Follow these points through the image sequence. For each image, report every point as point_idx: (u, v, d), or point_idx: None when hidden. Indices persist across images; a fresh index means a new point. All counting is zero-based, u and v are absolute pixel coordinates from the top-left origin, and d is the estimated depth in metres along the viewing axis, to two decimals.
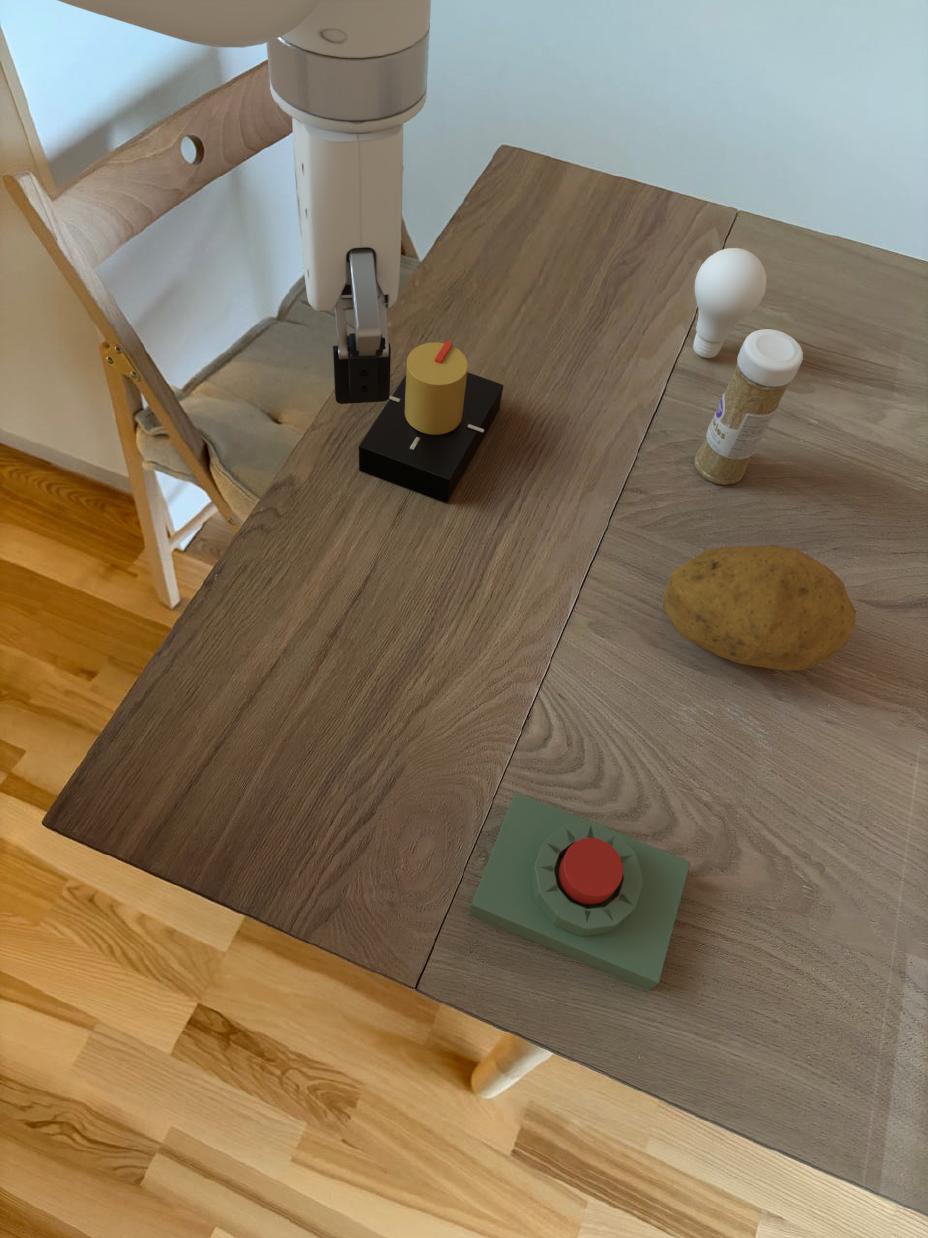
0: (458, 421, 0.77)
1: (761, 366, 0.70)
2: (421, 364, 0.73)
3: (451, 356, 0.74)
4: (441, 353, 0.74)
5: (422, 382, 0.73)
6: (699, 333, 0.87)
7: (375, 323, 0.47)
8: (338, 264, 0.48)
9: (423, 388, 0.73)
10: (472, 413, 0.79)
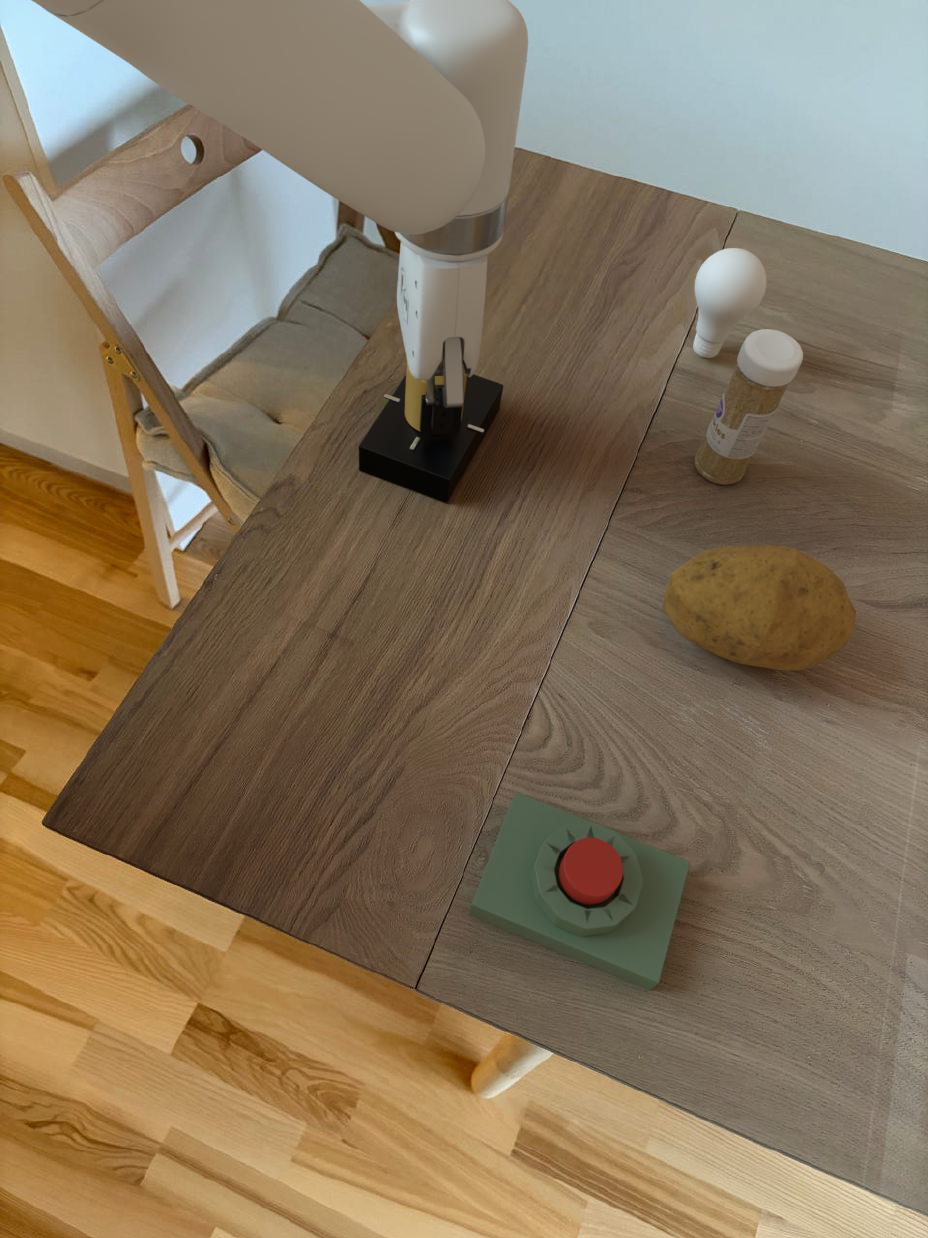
0: None
1: (761, 366, 0.70)
2: None
3: None
4: None
5: (422, 382, 0.73)
6: (699, 333, 0.87)
7: (459, 399, 0.67)
8: (437, 348, 0.66)
9: (423, 388, 0.73)
10: (472, 413, 0.79)
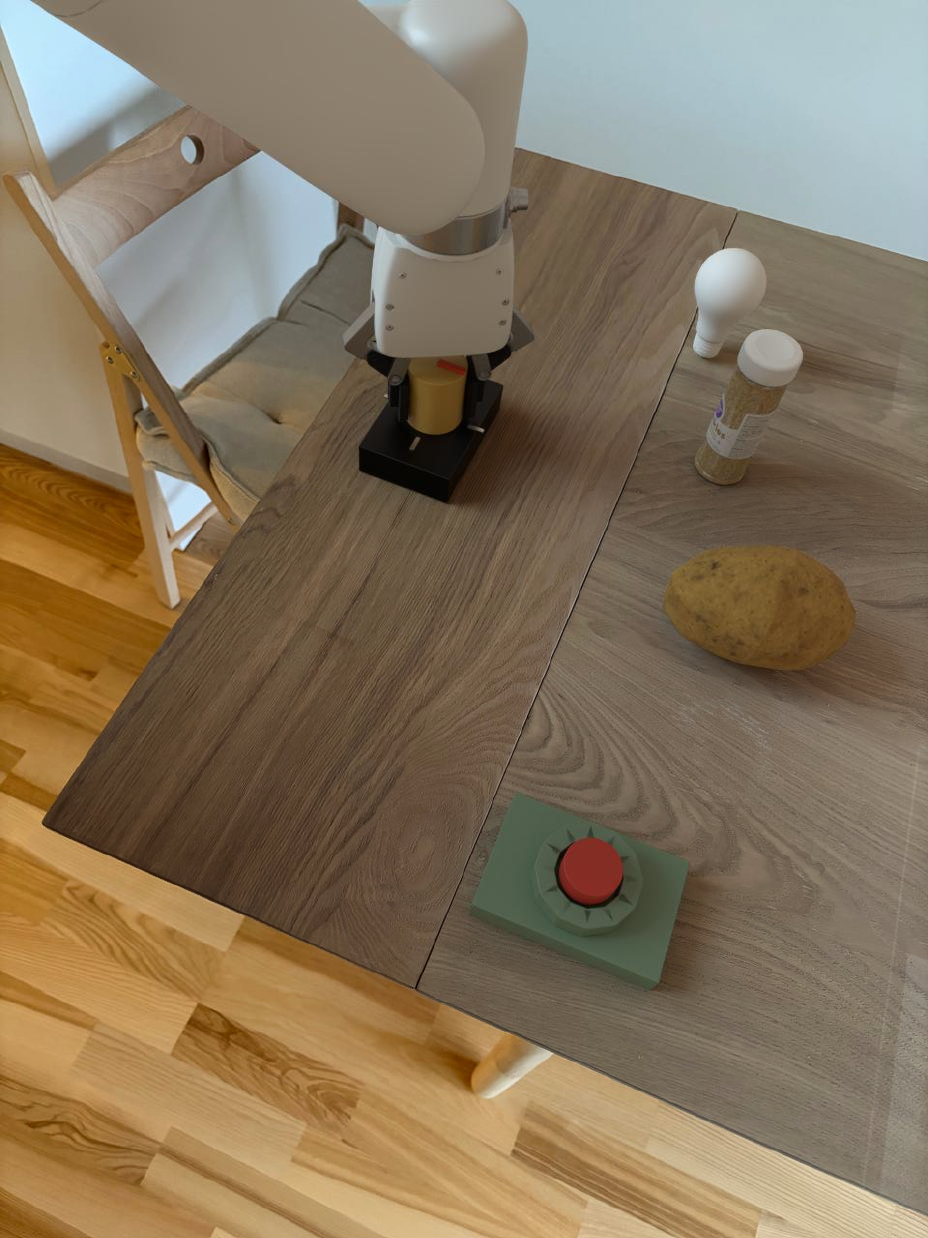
0: (417, 426, 0.77)
1: (761, 366, 0.70)
2: None
3: (447, 373, 0.73)
4: (447, 363, 0.73)
5: None
6: (699, 333, 0.87)
7: (346, 340, 0.70)
8: (371, 293, 0.68)
9: None
10: None
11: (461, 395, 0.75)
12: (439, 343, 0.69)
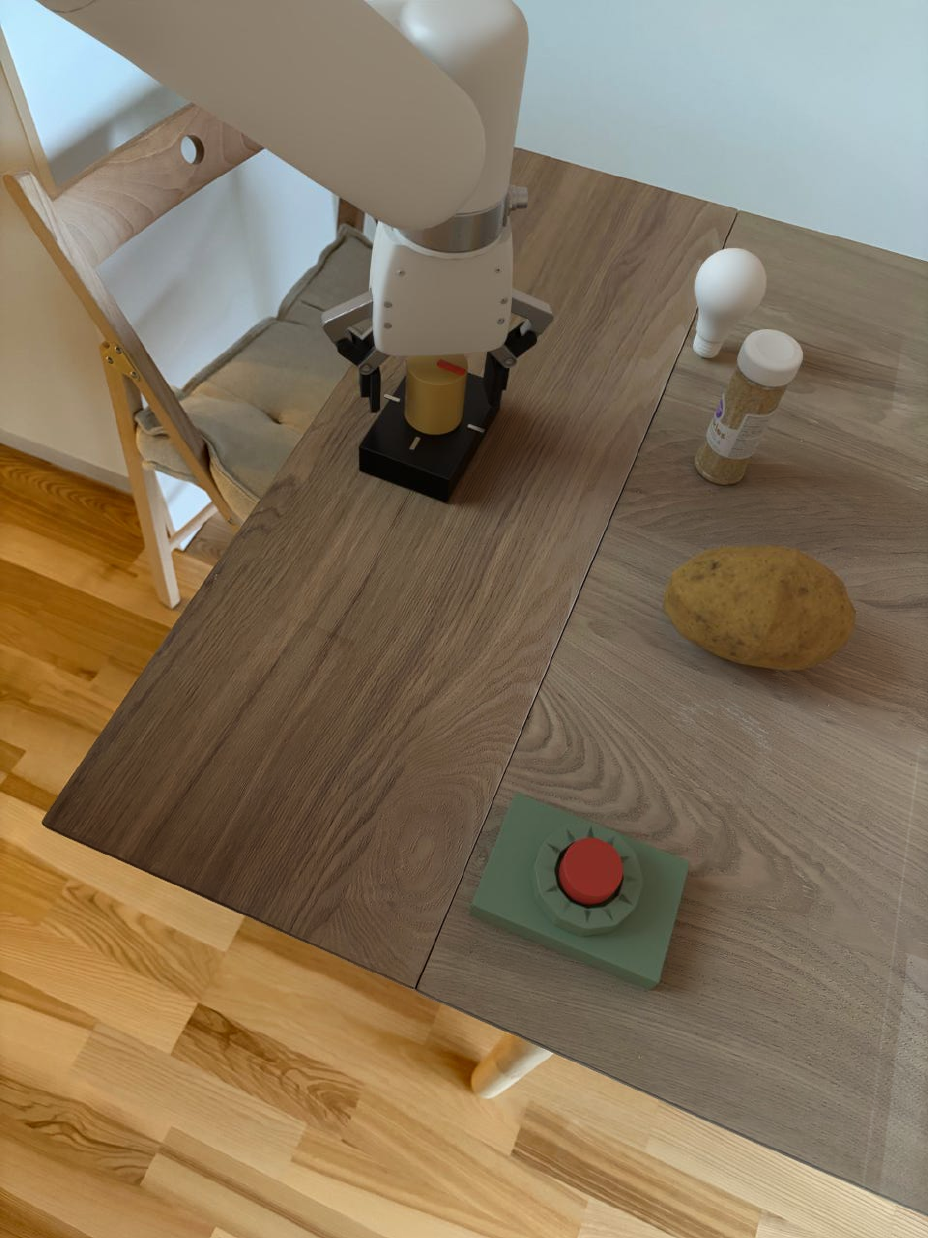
0: (416, 425, 0.77)
1: (761, 366, 0.70)
2: None
3: (446, 374, 0.73)
4: (447, 363, 0.73)
5: None
6: (699, 333, 0.87)
7: (327, 319, 0.68)
8: (369, 291, 0.68)
9: None
10: (472, 413, 0.79)
11: (460, 396, 0.75)
12: (437, 341, 0.69)
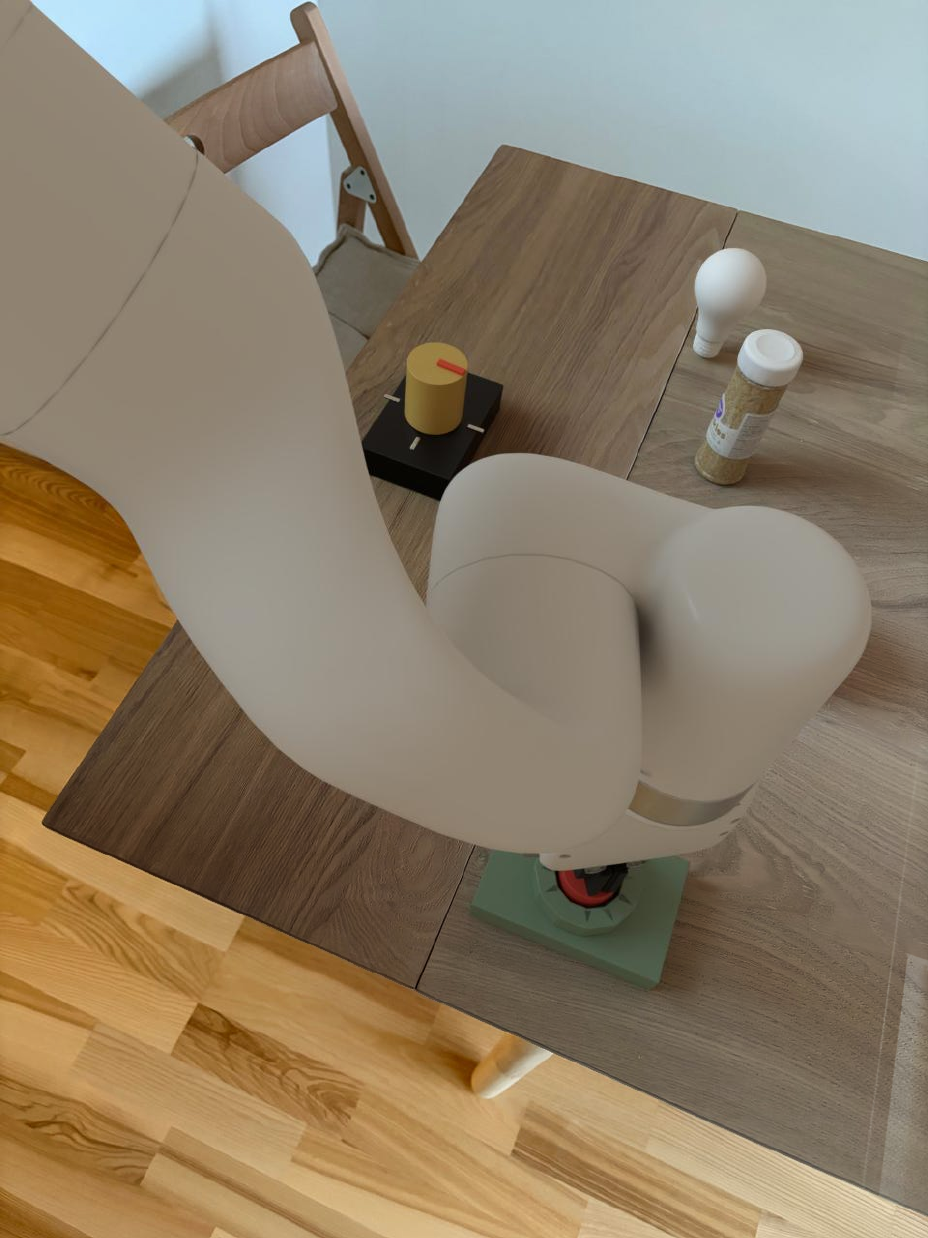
0: (416, 425, 0.77)
1: (761, 366, 0.70)
2: (435, 351, 0.74)
3: (446, 374, 0.73)
4: (447, 363, 0.73)
5: (411, 351, 0.74)
6: (699, 333, 0.87)
7: None
8: None
9: None
10: (472, 413, 0.79)
11: (460, 396, 0.75)
12: (630, 858, 0.48)
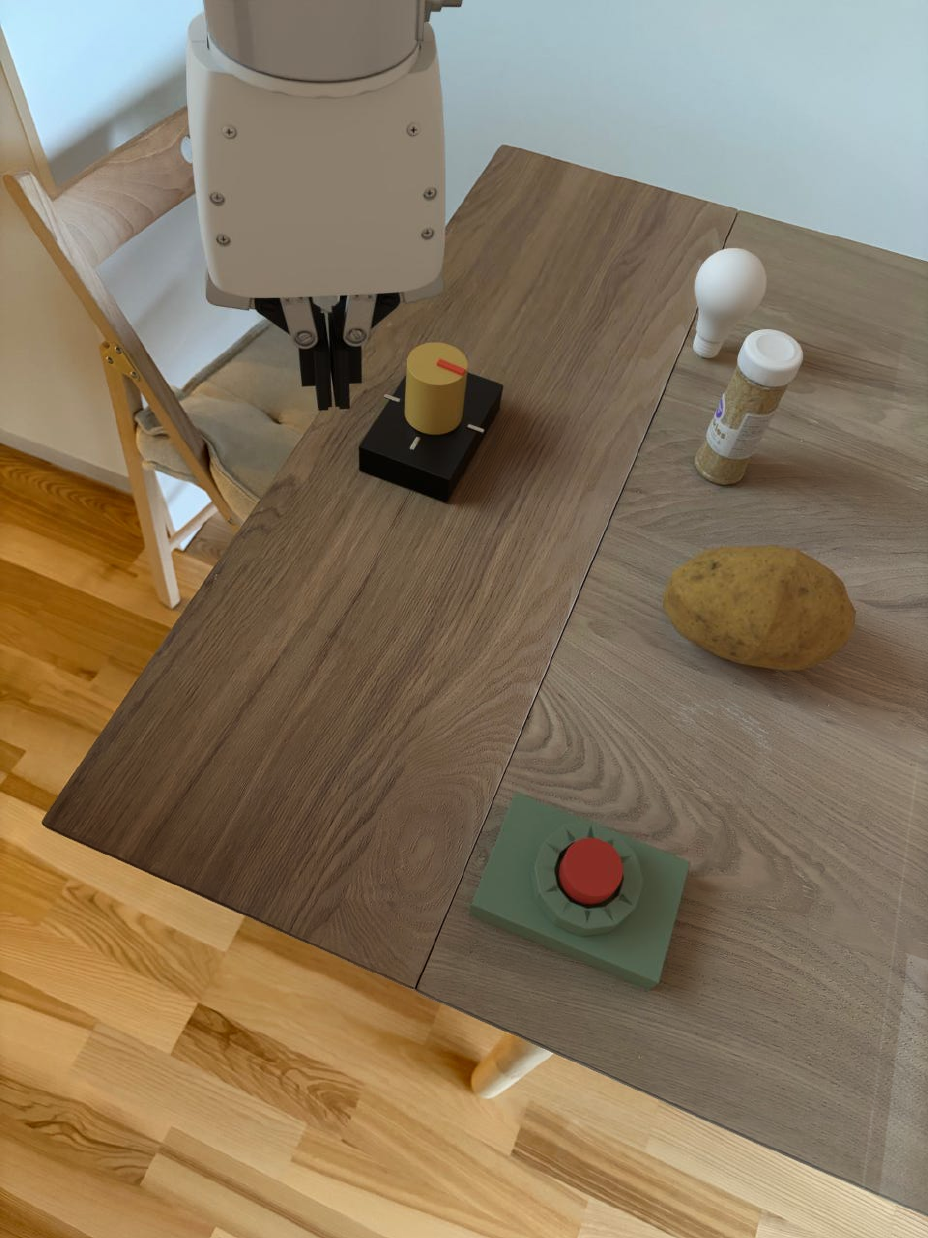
0: (416, 425, 0.77)
1: (761, 366, 0.70)
2: (435, 351, 0.74)
3: (446, 374, 0.73)
4: (447, 363, 0.73)
5: (411, 351, 0.74)
6: (699, 333, 0.87)
7: (205, 289, 0.41)
8: None
9: None
10: (472, 413, 0.79)
11: (460, 396, 0.75)
12: (318, 271, 0.39)
